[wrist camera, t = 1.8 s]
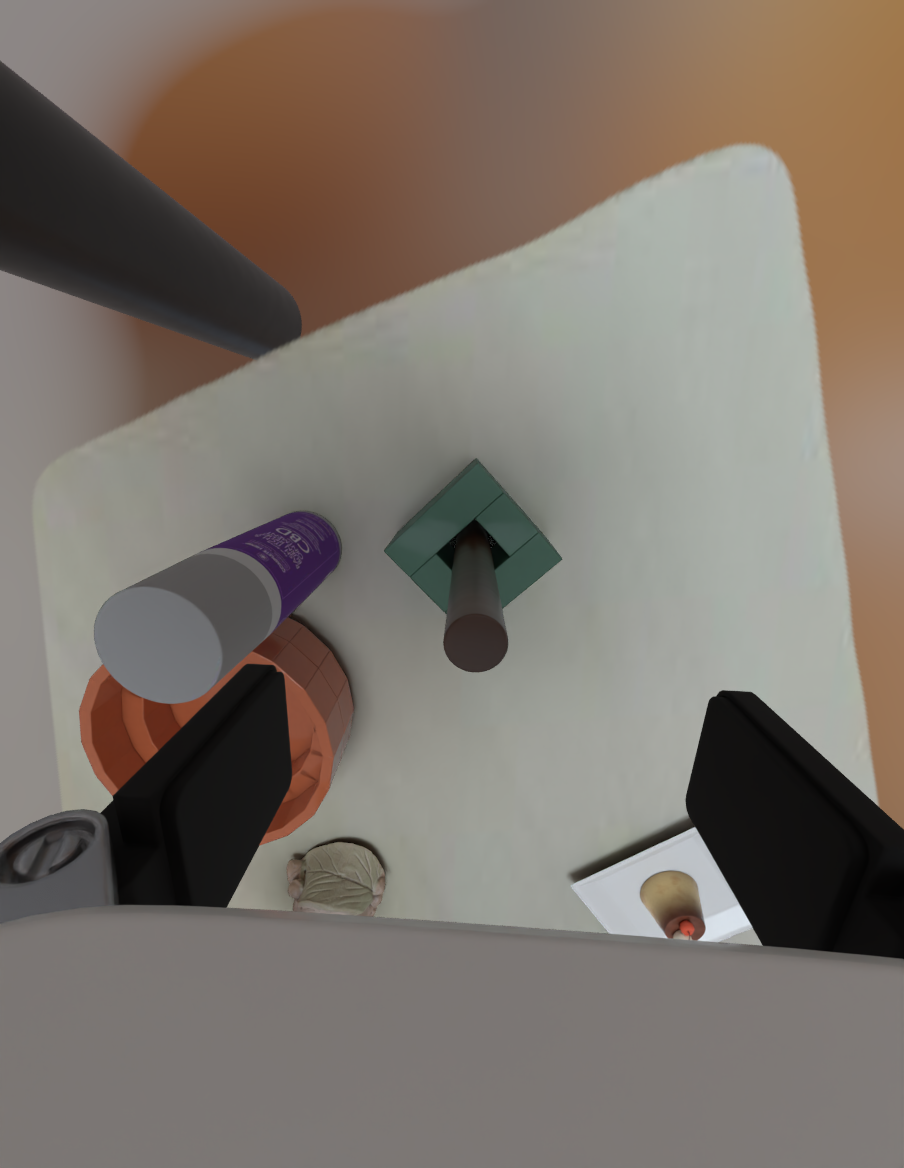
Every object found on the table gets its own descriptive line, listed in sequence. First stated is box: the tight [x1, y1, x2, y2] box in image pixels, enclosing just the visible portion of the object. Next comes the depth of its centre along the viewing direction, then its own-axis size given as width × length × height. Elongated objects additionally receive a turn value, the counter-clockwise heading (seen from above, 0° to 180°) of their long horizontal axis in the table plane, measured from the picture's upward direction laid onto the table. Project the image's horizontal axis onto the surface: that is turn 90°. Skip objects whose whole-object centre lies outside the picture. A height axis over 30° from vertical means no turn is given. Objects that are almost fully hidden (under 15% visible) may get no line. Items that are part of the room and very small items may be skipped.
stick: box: [443, 520, 508, 672], centre depth 22 cm, size 2×2×16 cm
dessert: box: [571, 827, 753, 942], centre depth 36 cm, size 12×12×5 cm
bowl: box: [79, 617, 354, 846], centre depth 31 cm, size 15×15×6 cm
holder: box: [384, 458, 562, 614], centre depth 27 cm, size 7×7×5 cm
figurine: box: [287, 842, 385, 917], centre depth 29 cm, size 9×8×20 cm
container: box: [94, 511, 342, 704], centre depth 23 cm, size 5×5×15 cm
